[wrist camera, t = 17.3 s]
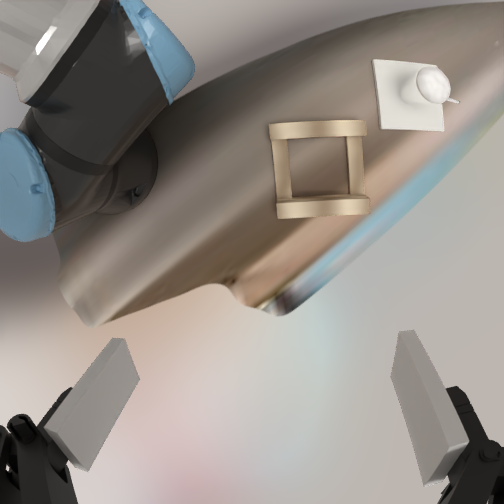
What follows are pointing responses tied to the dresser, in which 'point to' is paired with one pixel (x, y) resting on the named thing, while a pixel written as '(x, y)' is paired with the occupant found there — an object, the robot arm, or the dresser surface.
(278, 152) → the pocket holder
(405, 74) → the pad
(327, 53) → the dresser surface
